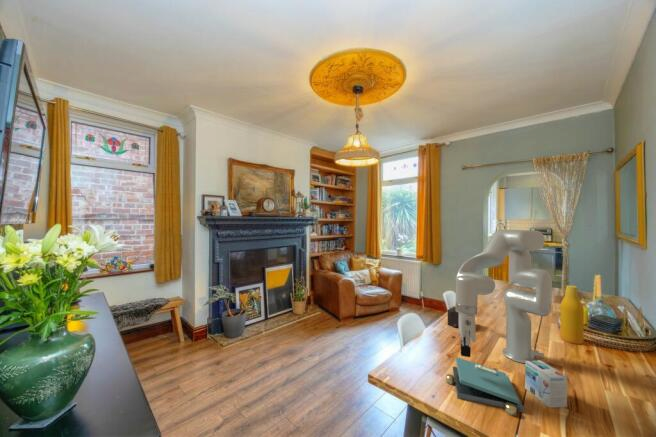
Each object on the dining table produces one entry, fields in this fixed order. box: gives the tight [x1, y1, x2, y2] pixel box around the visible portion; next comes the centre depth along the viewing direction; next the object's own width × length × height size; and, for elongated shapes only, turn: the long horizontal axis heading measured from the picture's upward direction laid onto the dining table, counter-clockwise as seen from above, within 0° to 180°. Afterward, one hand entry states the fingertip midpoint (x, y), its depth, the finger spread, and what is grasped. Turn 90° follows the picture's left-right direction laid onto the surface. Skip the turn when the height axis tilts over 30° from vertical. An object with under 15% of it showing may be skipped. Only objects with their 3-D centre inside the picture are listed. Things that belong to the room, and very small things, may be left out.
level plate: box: [455, 356, 520, 404], centre depth 100 cm, size 18×17×2 cm
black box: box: [447, 306, 459, 329], centre depth 158 cm, size 16×11×18 cm
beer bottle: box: [559, 284, 585, 345], centre depth 140 cm, size 9×9×29 cm
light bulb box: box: [524, 360, 568, 408], centre depth 96 cm, size 11×7×11 cm, turn 5°
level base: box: [445, 366, 524, 417], centre depth 101 cm, size 23×24×2 cm
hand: (465, 355), depth 102 cm, fingers closed
